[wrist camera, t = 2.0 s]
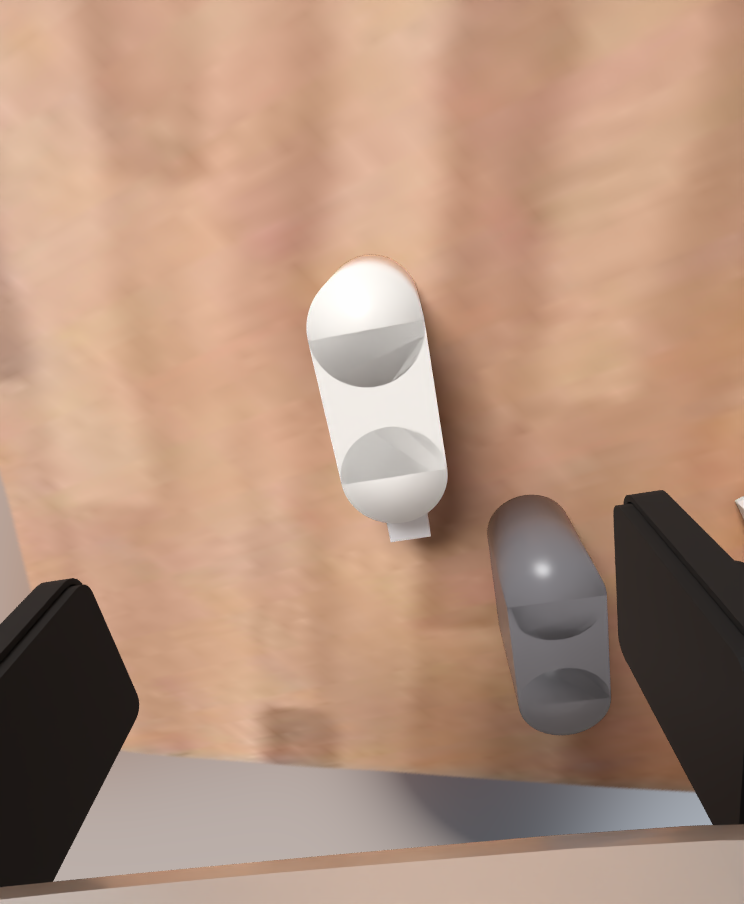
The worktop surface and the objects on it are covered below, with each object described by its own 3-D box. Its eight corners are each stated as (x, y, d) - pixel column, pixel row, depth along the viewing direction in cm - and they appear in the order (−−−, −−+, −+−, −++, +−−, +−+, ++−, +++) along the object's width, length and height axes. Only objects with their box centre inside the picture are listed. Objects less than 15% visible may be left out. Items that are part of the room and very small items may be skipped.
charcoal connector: (483, 501, 25) (502, 567, 21) (566, 489, 25) (605, 553, 20) (506, 683, 29) (527, 772, 25) (579, 675, 29) (613, 764, 24)
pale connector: (315, 264, 22) (294, 281, 17) (410, 245, 21) (414, 257, 17) (369, 510, 26) (363, 576, 21) (449, 498, 25) (461, 563, 21)
